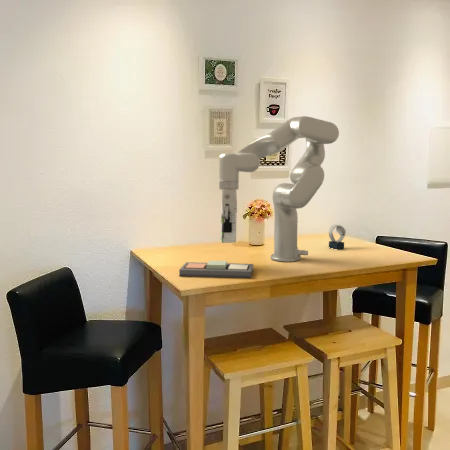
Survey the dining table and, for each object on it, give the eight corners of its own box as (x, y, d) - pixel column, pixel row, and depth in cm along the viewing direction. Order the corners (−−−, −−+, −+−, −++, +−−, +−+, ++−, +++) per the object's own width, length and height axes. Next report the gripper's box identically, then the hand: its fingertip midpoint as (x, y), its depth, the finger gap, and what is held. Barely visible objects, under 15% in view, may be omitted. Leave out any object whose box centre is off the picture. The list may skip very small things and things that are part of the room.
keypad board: (253, 270, 189) (253, 263, 189) (250, 278, 178) (250, 271, 177) (186, 268, 193) (186, 262, 193) (179, 276, 181) (179, 269, 181)
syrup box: (220, 240, 199) (220, 204, 196) (235, 240, 199) (235, 204, 197) (221, 243, 193) (221, 206, 191) (236, 242, 194) (236, 205, 191)
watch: (347, 248, 228) (348, 225, 227) (333, 250, 224) (334, 226, 223) (339, 246, 233) (339, 223, 231) (325, 248, 229) (326, 224, 228)
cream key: (248, 268, 187) (248, 264, 187) (246, 273, 180) (246, 269, 180) (230, 268, 188) (230, 264, 188) (228, 272, 181) (228, 268, 181)
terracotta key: (206, 267, 189) (206, 263, 189) (203, 271, 182) (203, 267, 182) (189, 267, 190) (188, 263, 190) (185, 271, 183) (185, 267, 183)
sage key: (227, 264, 188) (227, 261, 188) (224, 269, 181) (224, 265, 181) (209, 264, 189) (209, 260, 188) (206, 268, 182) (206, 264, 182)
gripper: (236, 187, 184) (235, 234, 186) (240, 184, 201) (240, 227, 203) (216, 187, 185) (216, 234, 187) (222, 183, 202) (222, 227, 204)
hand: (228, 230), depth 195 cm, fingers closed on syrup box, 6 cm apart
